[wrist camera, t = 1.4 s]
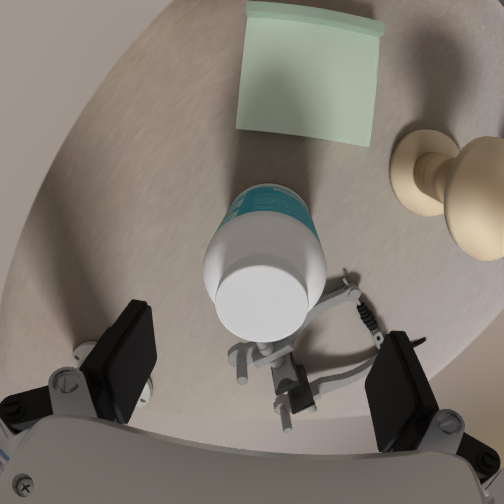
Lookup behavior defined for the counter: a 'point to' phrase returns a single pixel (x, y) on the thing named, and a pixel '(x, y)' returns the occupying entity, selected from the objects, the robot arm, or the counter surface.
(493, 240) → the bobbin
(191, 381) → the counter surface
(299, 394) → the bike brake
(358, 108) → the board
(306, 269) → the pill bottle
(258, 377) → the counter surface
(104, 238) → the counter surface
